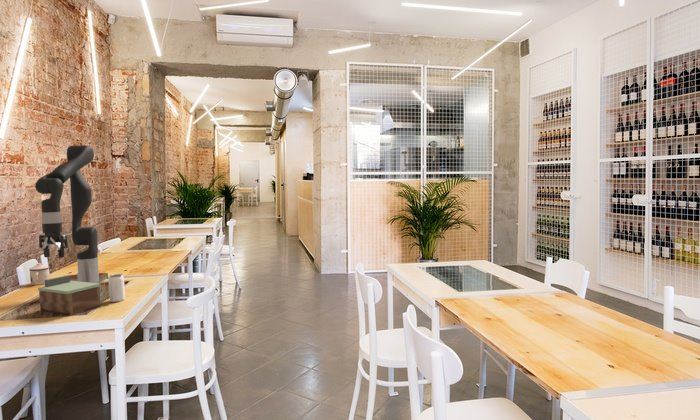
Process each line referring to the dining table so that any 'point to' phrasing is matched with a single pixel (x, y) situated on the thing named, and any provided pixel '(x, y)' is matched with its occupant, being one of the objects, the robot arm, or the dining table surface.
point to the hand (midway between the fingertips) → (54, 257)
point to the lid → (66, 285)
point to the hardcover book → (101, 277)
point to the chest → (70, 301)
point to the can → (116, 288)
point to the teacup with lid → (39, 274)
